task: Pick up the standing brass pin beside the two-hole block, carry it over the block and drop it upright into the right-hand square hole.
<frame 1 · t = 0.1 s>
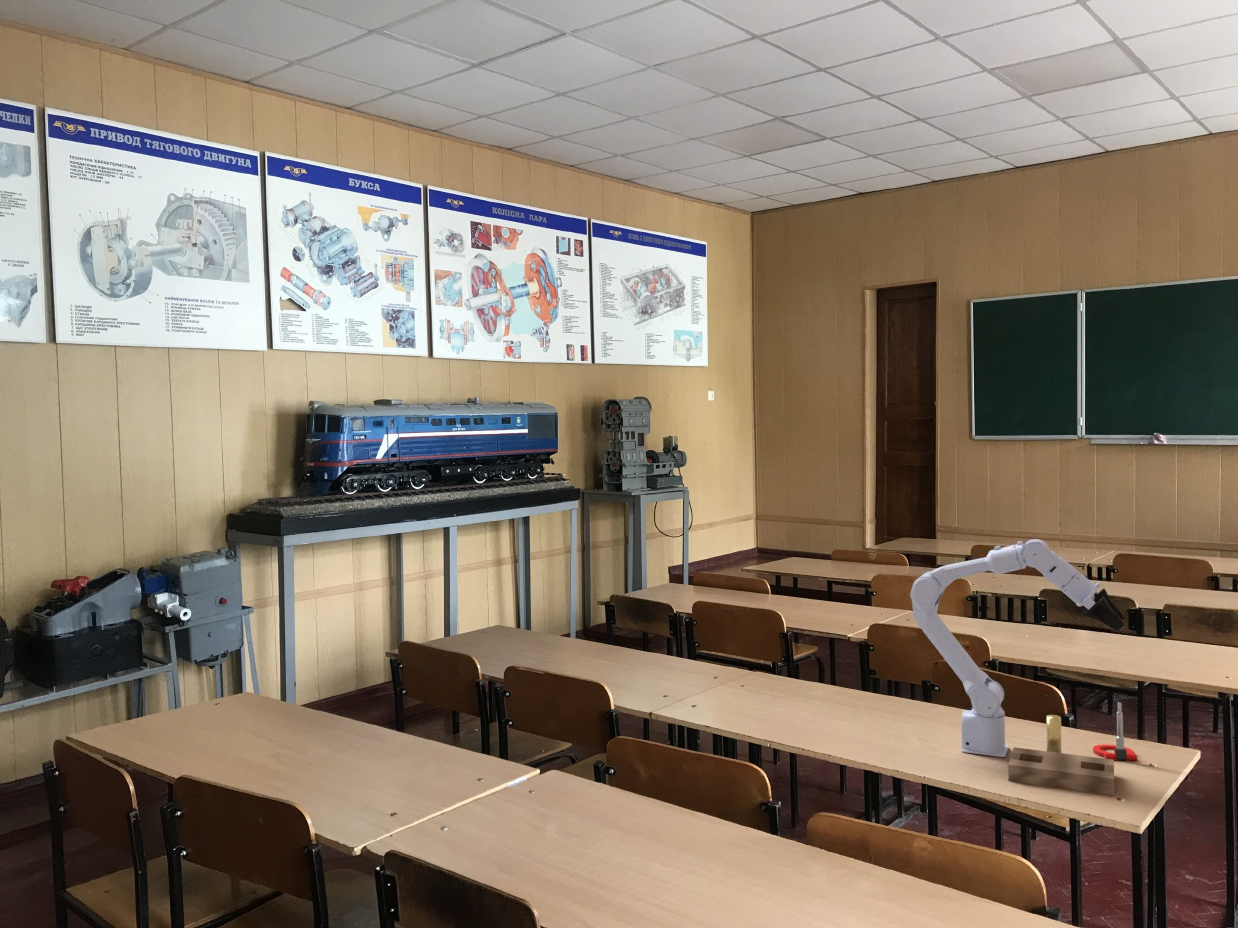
hand: (1121, 623, 205), 32 cm above the table, tool tilted 50°, fingers open, 7 cm apart
brass pin: (1054, 760, 211), on the table
hole block: (1061, 777, 201), on the table
tow hook: (1114, 755, 215), on the table
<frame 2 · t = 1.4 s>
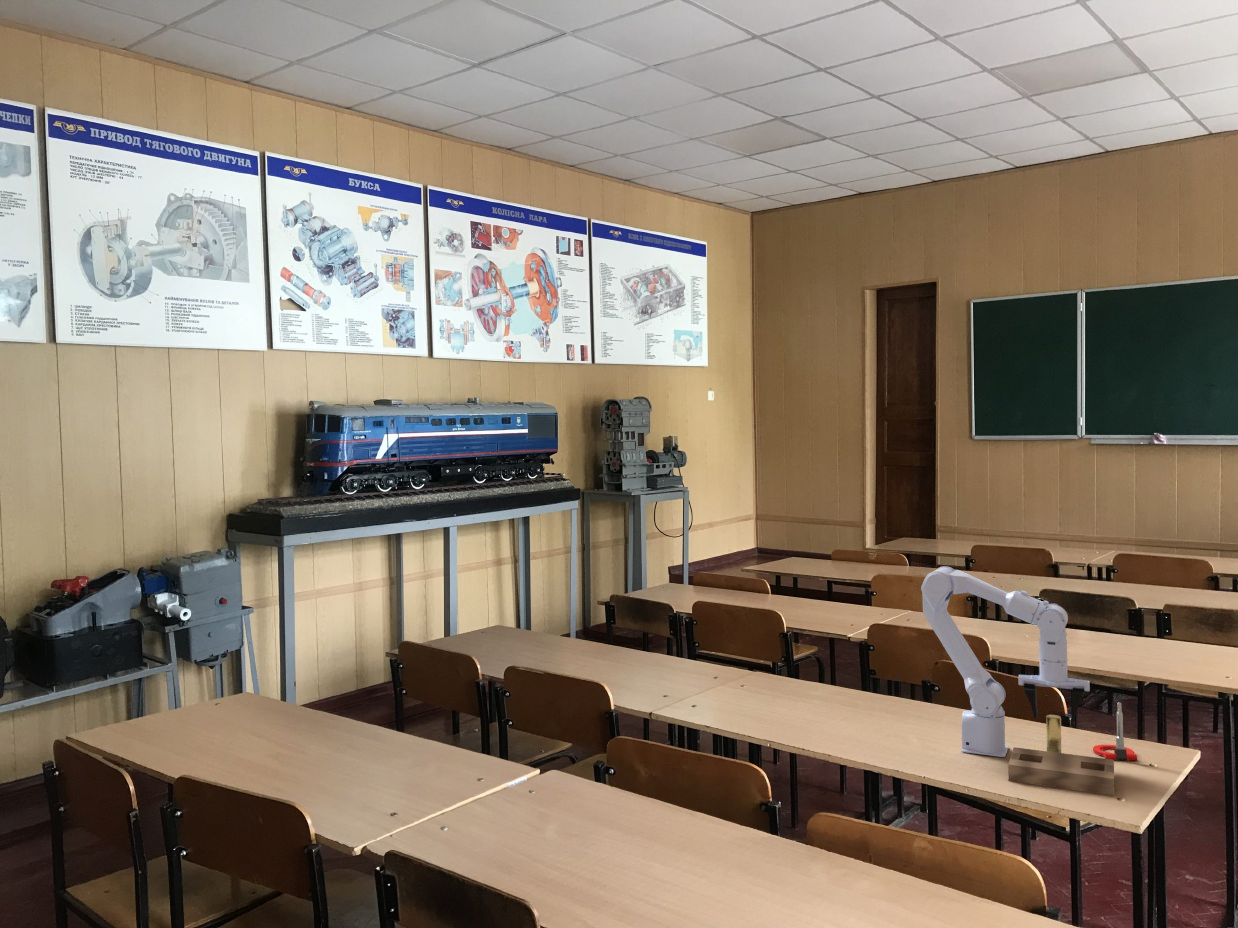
hand: (1054, 718, 211), 9 cm above the table, tool pointing down, fingers open, 7 cm apart
nothing on the table moved.
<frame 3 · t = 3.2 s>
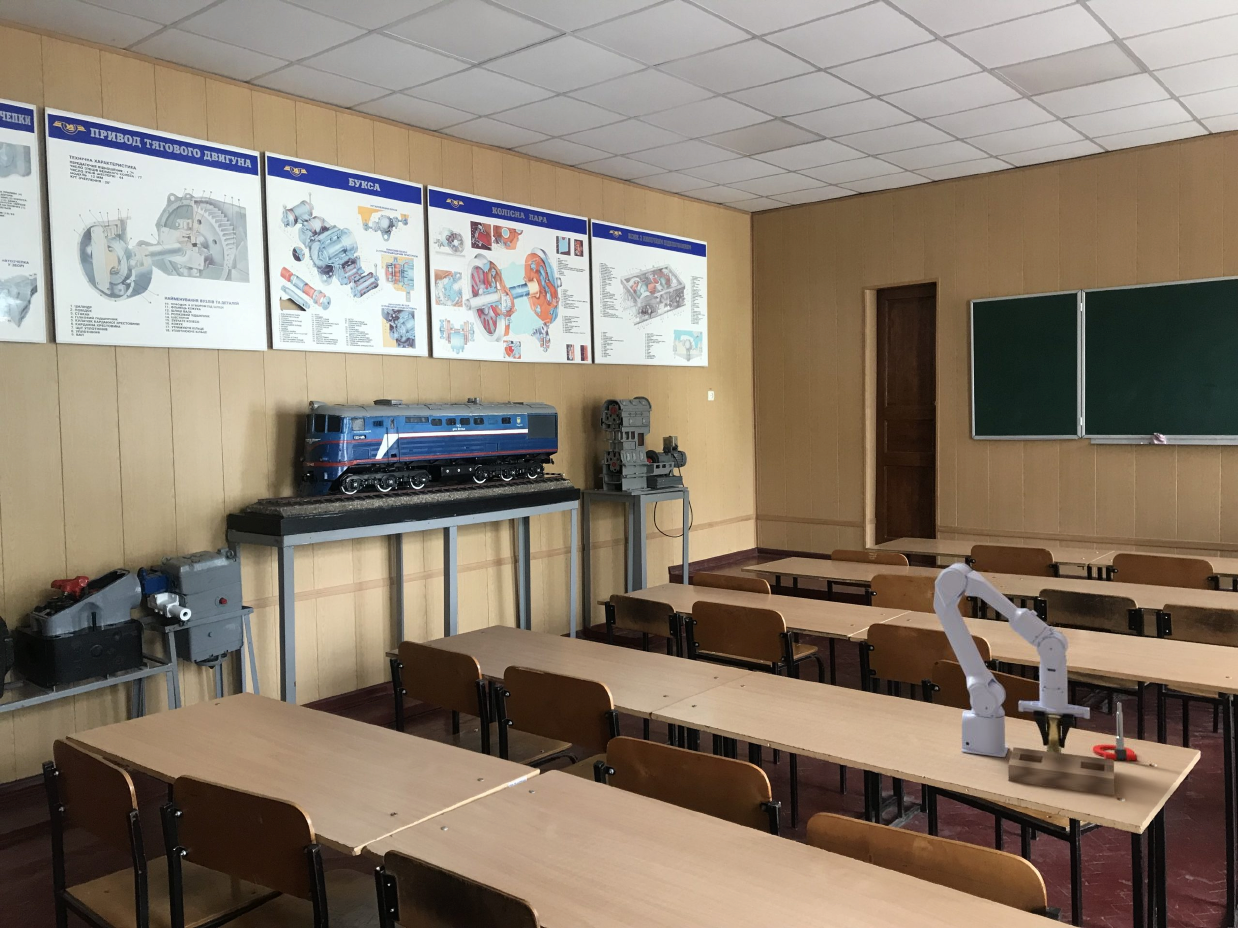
hand: (1053, 745, 211), 3 cm above the table, tool pointing down, fingers closed on brass pin, 3 cm apart
brass pin: (1054, 760, 211), on the table, touching gripper
everything else where it was.
when the fingers open (5 cm above the table, at t = 7.2 s): brass pin drops 2 cm, resting in hole block.
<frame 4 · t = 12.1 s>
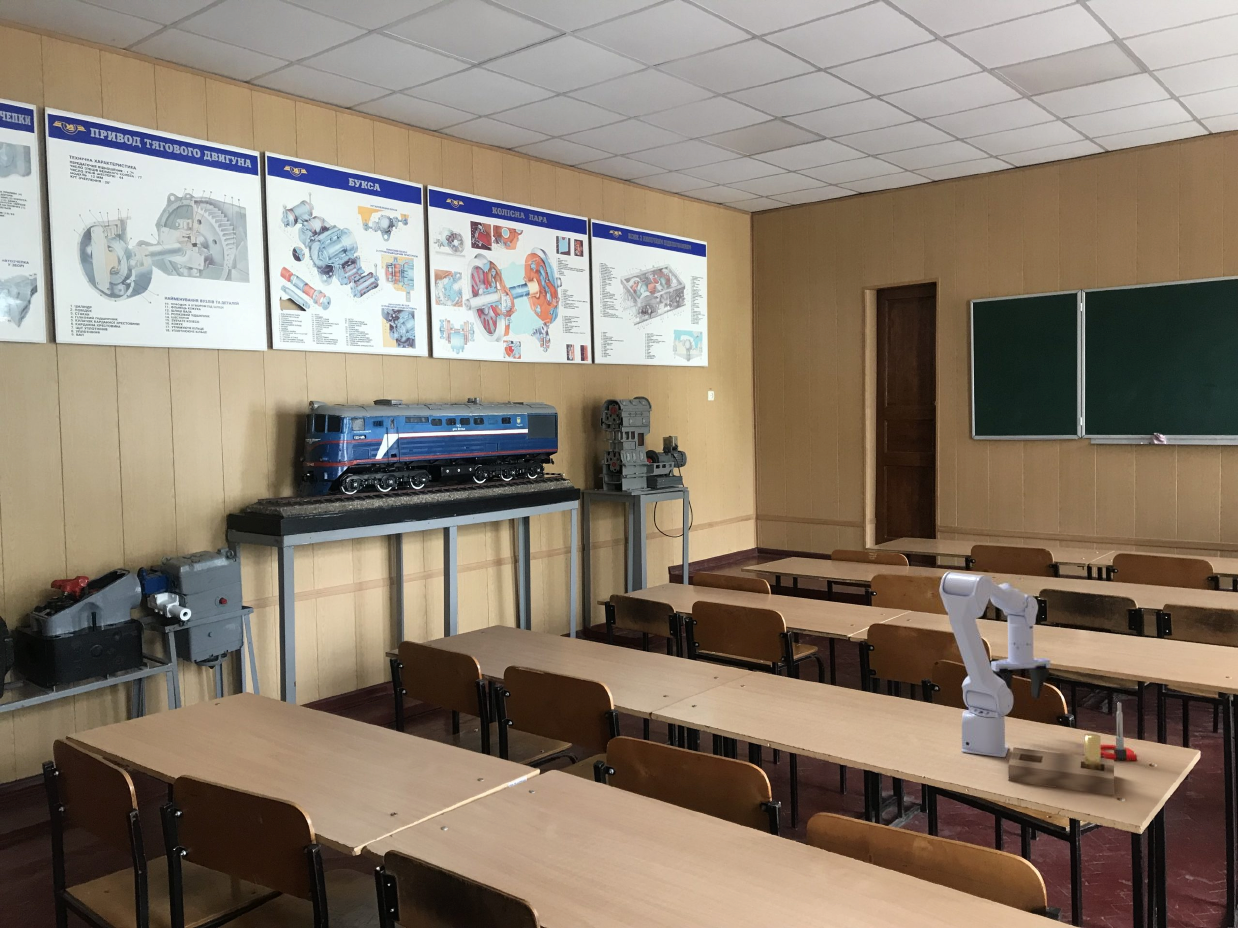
hand: (1021, 697, 228), 9 cm above the table, tool pointing down, fingers open, 7 cm apart
brass pin: (1092, 782, 198), resting in hole block
everything else where it was.
at the end: brass pin 0.1 cm from the target spot on the hole block, point 0.0 cm above the hole block's base; brass pin tilted 0°; the gripper is holding nothing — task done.
